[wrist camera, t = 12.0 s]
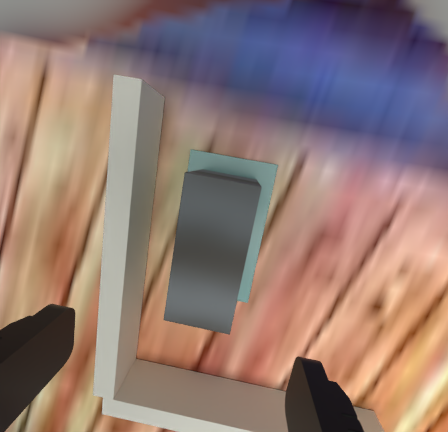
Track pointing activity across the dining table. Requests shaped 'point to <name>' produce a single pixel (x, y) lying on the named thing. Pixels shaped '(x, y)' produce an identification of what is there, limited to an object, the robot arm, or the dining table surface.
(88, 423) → the dining table surface
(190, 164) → the pad
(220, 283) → the bar
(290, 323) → the dining table surface
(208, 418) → the arena
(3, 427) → the robot arm
